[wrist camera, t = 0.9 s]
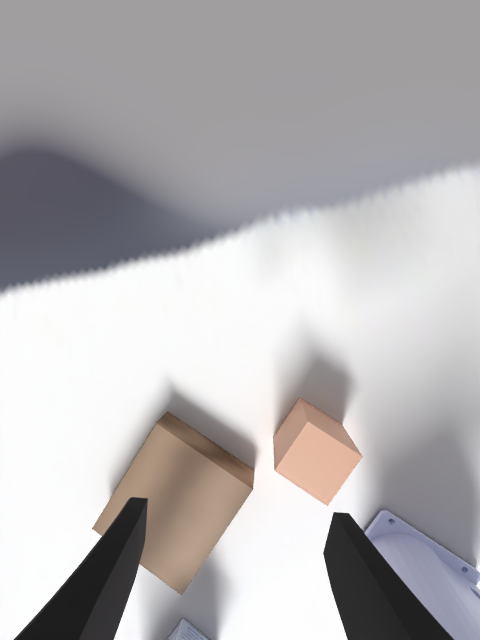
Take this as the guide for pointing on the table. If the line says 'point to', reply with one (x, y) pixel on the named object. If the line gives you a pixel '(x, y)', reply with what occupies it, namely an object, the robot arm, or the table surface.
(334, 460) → the terracotta block
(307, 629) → the table surface
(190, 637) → the medicine box
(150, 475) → the walnut block
